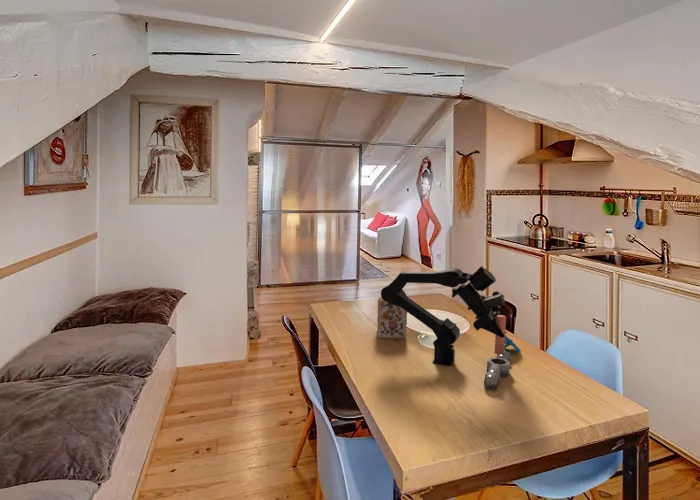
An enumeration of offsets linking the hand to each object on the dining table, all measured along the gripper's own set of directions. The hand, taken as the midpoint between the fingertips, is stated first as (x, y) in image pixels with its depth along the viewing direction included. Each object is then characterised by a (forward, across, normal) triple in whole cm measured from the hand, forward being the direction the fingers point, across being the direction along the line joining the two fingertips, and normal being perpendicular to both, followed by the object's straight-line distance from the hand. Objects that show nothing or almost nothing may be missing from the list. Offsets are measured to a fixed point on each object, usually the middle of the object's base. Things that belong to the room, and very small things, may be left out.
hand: (504, 335), depth 143 cm
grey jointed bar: (+9, 0, +10) cm, 14 cm away
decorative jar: (-24, +18, +44) cm, 53 cm away
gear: (+9, +23, +10) cm, 27 cm away
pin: (+4, 0, +6) cm, 7 cm away
